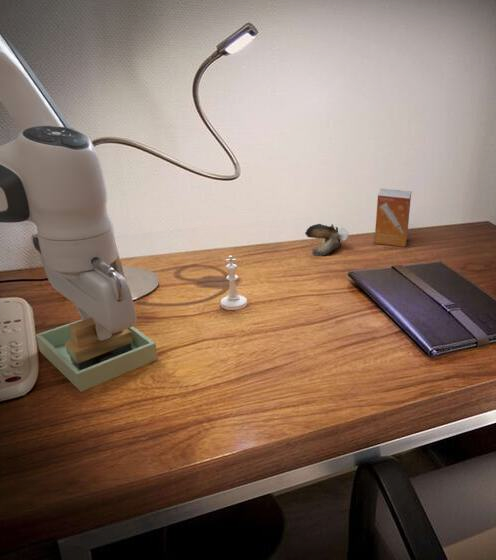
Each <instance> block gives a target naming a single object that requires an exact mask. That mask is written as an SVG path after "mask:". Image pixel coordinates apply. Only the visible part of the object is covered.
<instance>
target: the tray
mask: <svg viewBox="0 0 496 560" xmlns="http://www.w3.org/2000/svg"><path fill="white" fill-rule="evenodd" d="M79 321H82V318H80V319H77V320H76V321H73V322H70V323H67V324H64V325H61V326H57V327H54V328H50V329H49V330H44V331H42V332H39V333H36V334H35V338H36V342H37V346H38V350H39V352H40V353H41V354H42V355H43V356H44V357H45V358H46V359H47V360H48V361H49V362H50V363H51V364H52V365H53V366H54V367H55V368H56V369H57V370H58V371H59V372H60V373H61V374H62V375H63V376H64V377H65V378H66V379H67V380H68V381H69V382H70V383H71V384H72V385H73V386H75V388H76V389H77V390H78V391H79V392H81V393H83V392H85V391H86V390H90V389H91V388H93V387H96V386H98V385H101V384H103V383H106V382H108V381H111V380H112V379H115V378H117V377H120V376H122V375H124V374H127V373H129V372H132V371H134V370H136V369H139V368H142V367H144V366H146V365H149V364H151V363H153V362H155V361H157V360H159V357H158V350H157V345H156V344H157V343H156V342H155V341H153V340H152V339H150V338H149V337H148V336H147V335H146V334H144V333H143V332H141V331H140V330H139V329H137V328H136V327H134V326H133V327H130V328H128V330H129V331H130V332H131V335H132V341H133V342H132V343H131V347H132V350H131V351H129V352H126V353H123V354H121V355H118V356H116V357H113V358H111V359H108V360H106V361H103V362H101V363H98V364H96V365H93V366H90V367H88V368H85V369H83V370H80V369H79V368H78V367H76V366H75V365H74V364H73V363H72V362H71V359H70V355H69V354H68V353H67V350H66V346H65V342H67V341H70V340H72V337H71V333H70V328H69V325H70V324H73V323H76V322H79Z"/></svg>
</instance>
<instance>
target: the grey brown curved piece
mask: <svg viewBox="0 0 496 560" xmlns="http://www.w3.org/2000/svg"><path fill="white" fill-rule="evenodd" d="M304 234H305V236H306V237H307V238H311V239H312V238H313V239H324V240H323V241H322V242H321V244H320V245H319V246H317V247H316V248H314V249H312V252H311V253H312V255H313V256H326V255H329V253H331V252H332V251H333V250H335V249H337V248H338V247H339V246H341V245H342V244H341V241H342V242H345V241H346V240H347V239H348V238H349V231H348V230H347V229H346V228H344V227H341V228H340V229H339V227H338V226H334V224H333V223H331V225H330V226H329V225H326V224H325V225H324V224H321V223H316V224H313V225H310V226H309V227H308V228H306V231H305V232H304Z"/></svg>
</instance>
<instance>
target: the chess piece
mask: <svg viewBox="0 0 496 560" xmlns="http://www.w3.org/2000/svg"><path fill="white" fill-rule="evenodd" d="M236 260H237V259H236V258H233V255H229V256H228V258H226V259H225V262H226V263H227V264H226V265H225V269H226V271H227V274H228V275H227V276H226V277H225V279H226V280H227V281H229V288H228V295H226V296H224V297H222V298H221V300H220V307H221V308H222V309H224V310H227V311H238V310H242V309H244V308H246V307H247V305H248V299H247V297H246V296H244V295H242V294H239V292H238V289H237V288H238V287H237V283H236V281H237V280H239V276H238V275H237V274H236V272H237V269H238V265H237V264H235V263H236V262H237V261H236Z"/></svg>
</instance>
